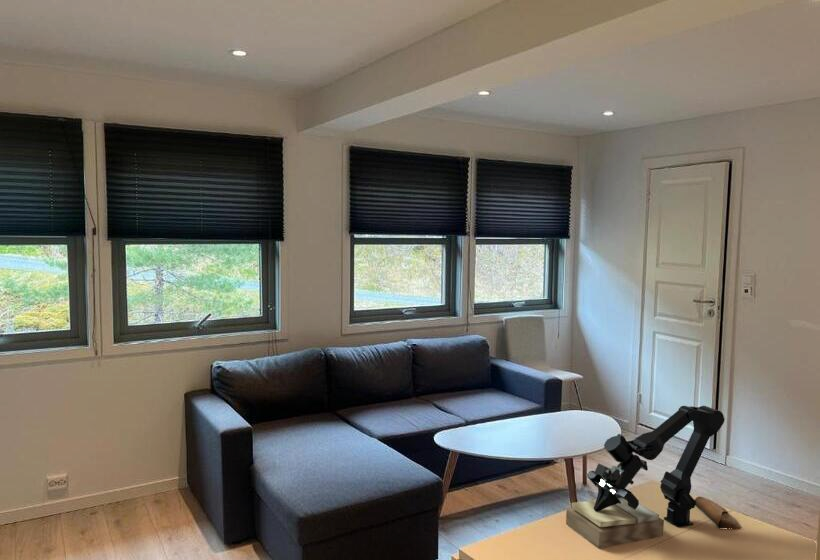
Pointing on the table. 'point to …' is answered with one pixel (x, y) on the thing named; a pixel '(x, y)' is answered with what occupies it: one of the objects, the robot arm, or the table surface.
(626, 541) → the floor base
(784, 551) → the table surface
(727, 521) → the sunglasses case
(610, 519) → the pale yellow square slab
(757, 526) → the table surface
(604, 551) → the table surface
